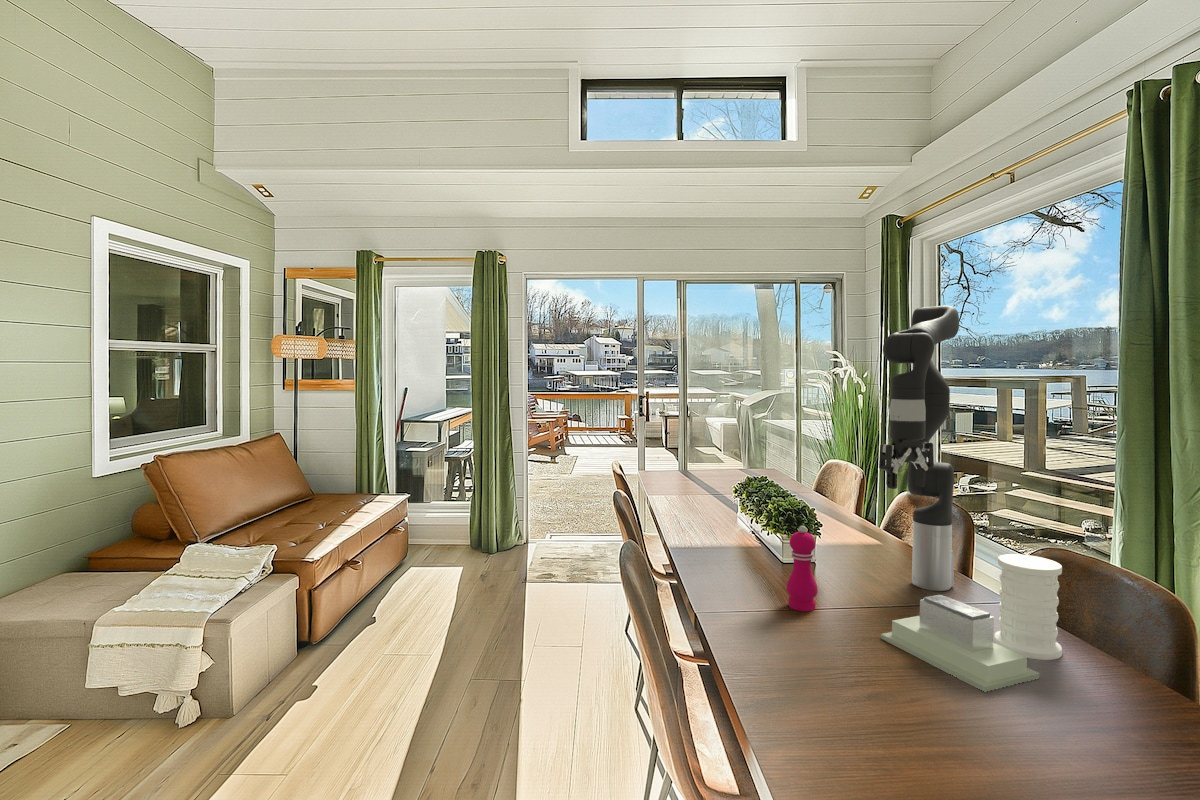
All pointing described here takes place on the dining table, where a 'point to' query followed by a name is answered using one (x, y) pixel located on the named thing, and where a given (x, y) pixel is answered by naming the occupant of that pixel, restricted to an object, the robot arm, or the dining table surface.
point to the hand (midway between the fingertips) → (906, 487)
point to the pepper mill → (802, 572)
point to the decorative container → (1029, 606)
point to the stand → (961, 657)
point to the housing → (957, 622)
